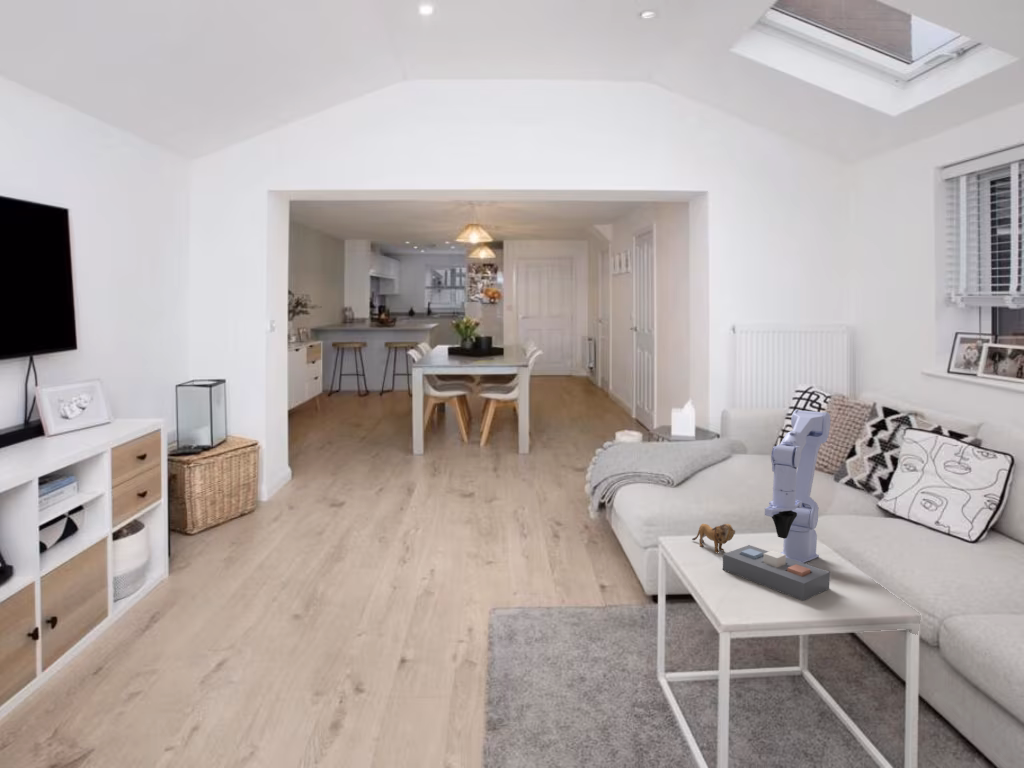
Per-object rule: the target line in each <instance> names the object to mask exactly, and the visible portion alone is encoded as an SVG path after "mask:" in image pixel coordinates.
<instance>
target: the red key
mask: <svg viewBox="0 0 1024 768" xmlns="http://www.w3.org/2000/svg"><path fill="white" fill-rule="evenodd" d="M787 571H788V572H791V573H793V574H796V575H799V576H802V577H803V576H805V575H808V574H810V569H809V568H806V567H803V566H800V565H797V564H795V565H793V566H791V567H788V568H787Z"/></svg>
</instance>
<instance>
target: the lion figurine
mask: <svg viewBox="0 0 1024 768" xmlns="http://www.w3.org/2000/svg"><path fill="white" fill-rule="evenodd" d="M696 534H697V535H696V536H695V537H693V538H692V539H691V540H692V541H696V540H697V538H698V537H699V547H701V548H703V547H704V544H703V543H705V540H704V538H705V537H706V538H707V539H709V540H710V541H713V543H714V553H715V552H717V553H716V554H719V553H720V550H723V551H724V550H725V549H724V548H723V545H724V544H726V543H727V542H728V541H729V542H730V541H731V540H732V539H733V537H734V535H736V530H735V529H734V528H733V527H732V525H731V524H730V523H724V524H721V525H718V526H715V527H714V528H713V527H711V526H710V525H709V524H708V523H702V524H700V525H699V528H698V532H697V533H696ZM718 552H719V553H718Z"/></svg>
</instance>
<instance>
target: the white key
mask: <svg viewBox="0 0 1024 768" xmlns="http://www.w3.org/2000/svg"><path fill="white" fill-rule="evenodd" d="M763 563H765V564H768V565H771V566H774V567H776V568H779V567H781V566H783V565H786V555H785V554H782V553H781V552H779V551H776V550H773V549H772V550H769V552H767V553H764V561H763Z"/></svg>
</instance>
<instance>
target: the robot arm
mask: <svg viewBox="0 0 1024 768" xmlns="http://www.w3.org/2000/svg"><path fill="white" fill-rule="evenodd" d="M790 422H791V423H790V425H791V428H792V430H791V431H788V432H787V433H786V434H785V435H784V437H783V438H782V440H781V441H780V443H779V444H777V445H775V446H773V447H772V450H771V455H770V460H771V470H772V472H773V479H772V481H773V482H772V483H773V484H772V485H773V487H772V500H771V501H769V502H768V505H769V506H767V507H765V508H764V516H766V517H771V519H772V520H773V523H774V526H775V530H776V535H777V537H778V538H781V539H783V549H782V551H781V552H780V553H782V554H785V555H786V557H787V558H790V559H793V560H796V561H799V562H802V563H804V564H806V563H807V562H809V561H812V560H815V559H817V558H819V557H820V554H817V544H818V543H817V542H818V541H817V540H818V535H817V532H816V530H815V529H816V528H817V525H818V522H819V505H818V503H817V502H816V501H815V500H814V499H813V498H812V497H811V493H812V488H813V481H814V477H815V472H816V471H815V470H816V465H817V460H818V454H819V450H820V447H821V445H822V444H824V443H826V442H828V441H827V440H828V439H829V435H830V429H831V415H830V413H829V412H827V411H825V412H823V411H822V412H821V411H813V410H812V411H811V410H799V409H794V410H793V412H792V414H791V420H790Z"/></svg>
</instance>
